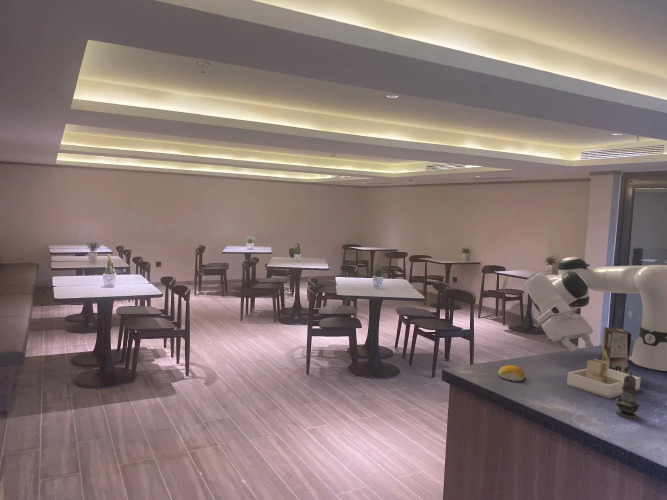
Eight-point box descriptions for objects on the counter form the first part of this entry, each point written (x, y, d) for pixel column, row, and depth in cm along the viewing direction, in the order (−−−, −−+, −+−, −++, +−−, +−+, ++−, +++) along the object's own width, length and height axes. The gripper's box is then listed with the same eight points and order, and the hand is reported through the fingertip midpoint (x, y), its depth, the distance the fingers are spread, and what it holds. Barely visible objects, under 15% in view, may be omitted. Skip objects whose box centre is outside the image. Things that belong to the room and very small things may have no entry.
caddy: (597, 377, 169) (598, 365, 168) (639, 389, 157) (640, 377, 157) (566, 384, 159) (567, 372, 158) (608, 398, 147) (610, 385, 147)
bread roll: (524, 375, 166) (525, 364, 166) (523, 383, 158) (524, 371, 158) (499, 371, 170) (500, 360, 169) (496, 378, 161) (497, 367, 161)
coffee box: (627, 379, 167) (632, 333, 166) (607, 377, 169) (611, 331, 168) (618, 371, 176) (622, 328, 175) (598, 369, 178) (602, 326, 176)
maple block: (593, 382, 159) (595, 358, 158) (606, 386, 155) (608, 362, 155) (585, 385, 156) (587, 360, 155) (597, 389, 153) (599, 364, 152)
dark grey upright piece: (644, 418, 133) (648, 375, 133) (628, 420, 131) (632, 376, 131) (624, 409, 139) (628, 368, 138) (609, 411, 137) (613, 369, 136)
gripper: (568, 316, 174) (593, 350, 166) (533, 320, 163) (557, 357, 155) (582, 306, 170) (607, 341, 162) (546, 310, 159) (571, 347, 151)
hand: (582, 349), depth 159 cm, fingers open, 8 cm apart
